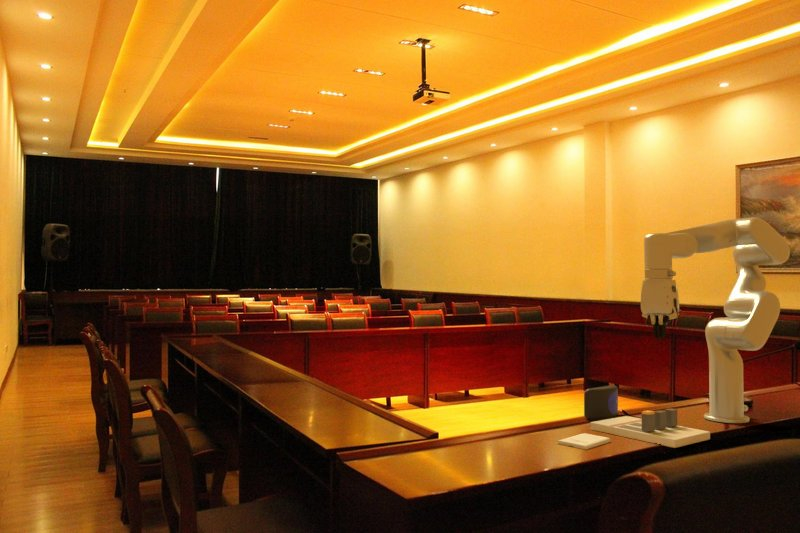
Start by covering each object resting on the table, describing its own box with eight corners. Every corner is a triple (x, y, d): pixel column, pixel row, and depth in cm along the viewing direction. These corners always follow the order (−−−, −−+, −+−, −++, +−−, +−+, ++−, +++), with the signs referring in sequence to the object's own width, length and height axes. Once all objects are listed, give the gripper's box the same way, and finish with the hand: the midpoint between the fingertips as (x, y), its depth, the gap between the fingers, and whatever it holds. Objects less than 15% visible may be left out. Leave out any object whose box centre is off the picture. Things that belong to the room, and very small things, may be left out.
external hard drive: (610, 444, 171) (585, 452, 162) (582, 438, 177) (557, 446, 168) (610, 437, 171) (585, 445, 162) (582, 432, 177) (557, 439, 168)
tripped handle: (648, 429, 176) (648, 410, 176) (654, 430, 174) (654, 411, 174) (641, 430, 174) (641, 411, 174) (648, 431, 172) (648, 412, 172)
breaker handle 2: (670, 424, 182) (670, 408, 182) (677, 425, 181) (677, 409, 181) (664, 425, 180) (664, 409, 181) (671, 426, 179) (671, 410, 179)
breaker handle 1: (659, 426, 179) (659, 410, 179) (666, 428, 177) (666, 411, 178) (653, 428, 177) (653, 411, 177) (660, 429, 176) (659, 412, 176)
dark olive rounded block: (595, 422, 196) (595, 390, 197) (582, 419, 200) (582, 388, 200) (625, 415, 206) (625, 386, 207) (613, 413, 210) (613, 384, 210)
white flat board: (626, 422, 196) (626, 415, 196) (710, 439, 175) (710, 431, 175) (590, 429, 186) (590, 422, 186) (674, 447, 165) (674, 439, 165)
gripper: (689, 275, 186) (691, 339, 186) (643, 275, 198) (644, 335, 198) (675, 275, 182) (676, 340, 181) (628, 275, 194) (629, 337, 193)
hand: (659, 338), depth 189 cm, fingers closed
